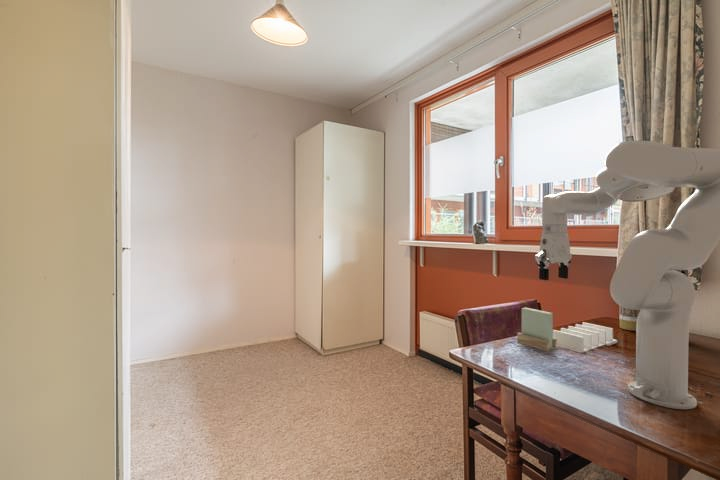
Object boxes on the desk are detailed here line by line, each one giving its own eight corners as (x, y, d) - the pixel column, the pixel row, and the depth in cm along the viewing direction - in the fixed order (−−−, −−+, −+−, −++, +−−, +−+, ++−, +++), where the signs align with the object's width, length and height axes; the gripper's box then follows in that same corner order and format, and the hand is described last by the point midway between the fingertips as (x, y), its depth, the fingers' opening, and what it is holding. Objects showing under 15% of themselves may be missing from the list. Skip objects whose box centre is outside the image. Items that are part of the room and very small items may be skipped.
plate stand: (547, 353, 111) (547, 342, 111) (515, 343, 121) (515, 332, 121) (559, 350, 114) (559, 338, 114) (526, 340, 125) (526, 329, 125)
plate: (548, 348, 113) (548, 313, 112) (521, 340, 121) (521, 308, 121) (552, 347, 114) (552, 313, 114) (525, 339, 123) (525, 307, 122)
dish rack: (580, 355, 109) (581, 339, 109) (548, 345, 119) (548, 330, 118) (617, 342, 121) (617, 327, 121) (584, 334, 131) (584, 321, 131)
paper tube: (641, 329, 139) (641, 269, 138) (640, 332, 134) (640, 271, 133) (620, 325, 143) (621, 268, 143) (618, 329, 138) (619, 269, 138)
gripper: (546, 230, 109) (546, 282, 109) (581, 230, 115) (580, 278, 116) (527, 230, 116) (526, 278, 116) (561, 230, 122) (560, 276, 123)
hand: (553, 278), depth 116 cm, fingers open, 9 cm apart
